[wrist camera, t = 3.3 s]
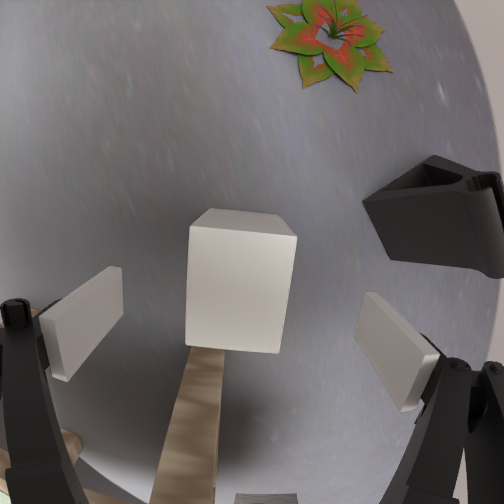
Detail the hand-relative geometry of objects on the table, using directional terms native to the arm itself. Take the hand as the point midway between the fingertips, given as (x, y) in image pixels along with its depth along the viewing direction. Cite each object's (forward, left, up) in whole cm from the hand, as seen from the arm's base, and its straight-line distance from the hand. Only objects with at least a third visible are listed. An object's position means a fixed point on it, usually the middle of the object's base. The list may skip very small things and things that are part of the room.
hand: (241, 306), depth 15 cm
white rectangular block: (0, 0, -10) cm, 10 cm away
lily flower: (+6, +20, -11) cm, 24 cm away
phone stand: (+15, +6, -10) cm, 19 cm away
